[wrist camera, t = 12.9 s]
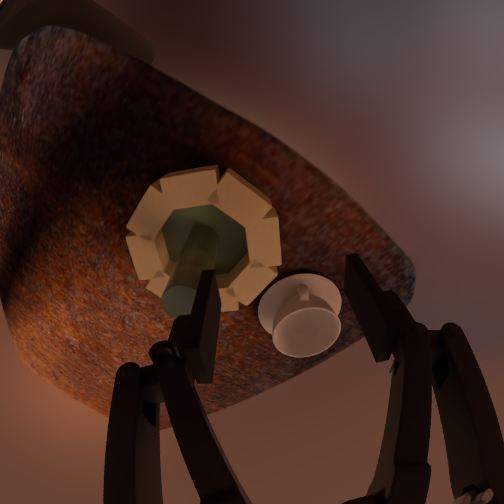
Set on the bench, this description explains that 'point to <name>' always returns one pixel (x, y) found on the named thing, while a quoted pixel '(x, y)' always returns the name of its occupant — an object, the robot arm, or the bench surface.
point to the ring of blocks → (227, 200)
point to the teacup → (301, 314)
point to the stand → (199, 251)
